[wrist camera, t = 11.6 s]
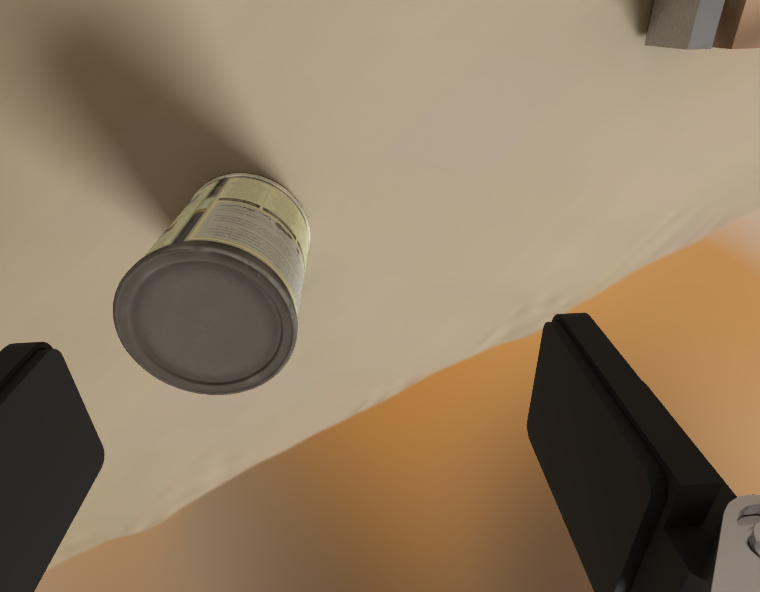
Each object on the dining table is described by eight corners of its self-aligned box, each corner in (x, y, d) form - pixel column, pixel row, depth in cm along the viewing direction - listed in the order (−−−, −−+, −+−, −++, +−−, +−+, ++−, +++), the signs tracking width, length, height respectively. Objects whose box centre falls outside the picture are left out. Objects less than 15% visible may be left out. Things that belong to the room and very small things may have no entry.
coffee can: (294, 300, 44) (273, 411, 31) (176, 268, 41) (104, 374, 29) (327, 195, 39) (317, 277, 27) (196, 153, 37) (120, 221, 25)
